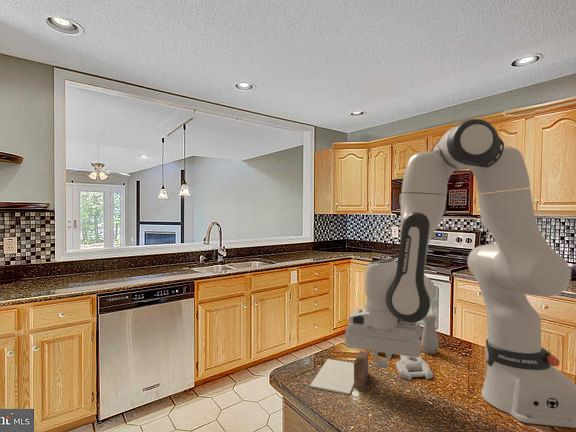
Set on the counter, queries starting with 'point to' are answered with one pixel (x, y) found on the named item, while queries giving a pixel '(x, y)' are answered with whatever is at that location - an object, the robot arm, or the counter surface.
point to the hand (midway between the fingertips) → (382, 367)
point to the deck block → (360, 369)
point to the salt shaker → (429, 335)
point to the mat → (335, 377)
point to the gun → (413, 367)
